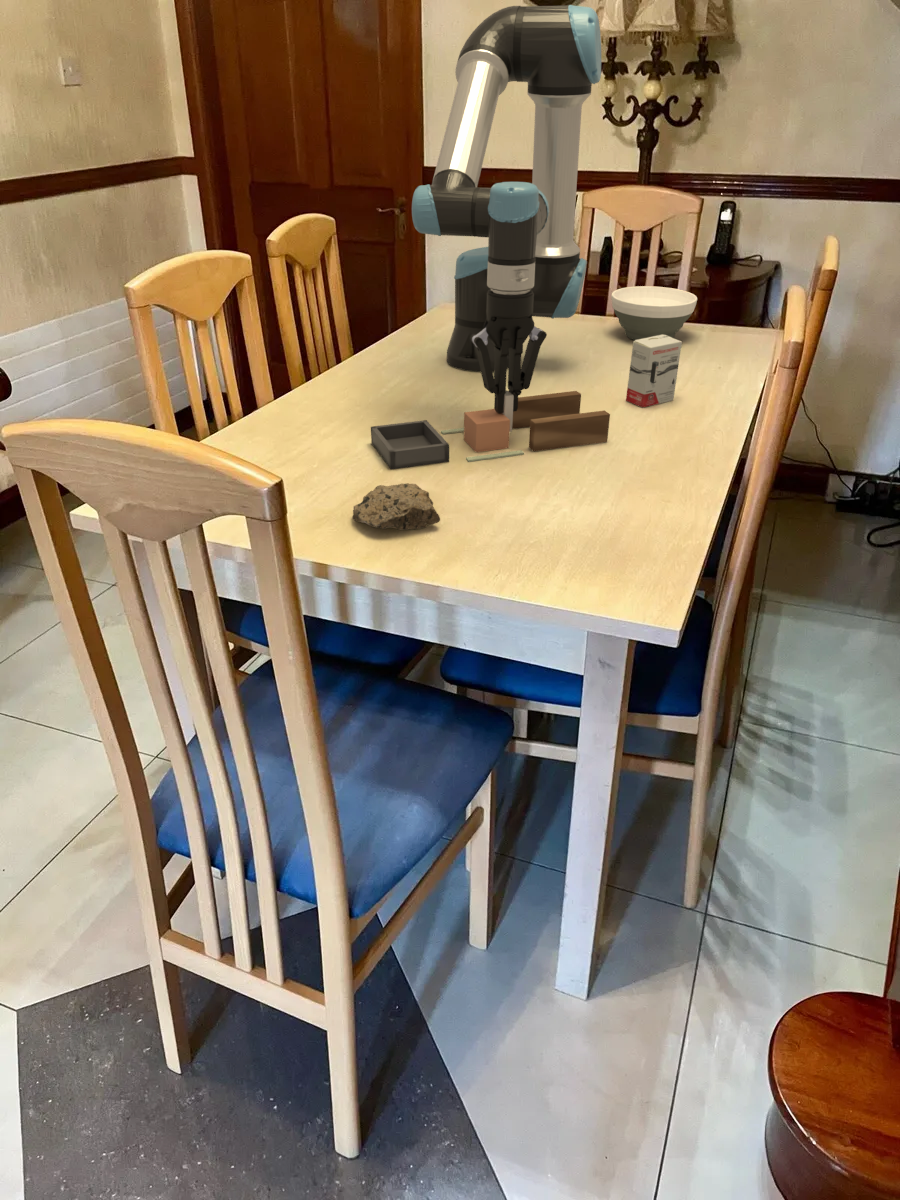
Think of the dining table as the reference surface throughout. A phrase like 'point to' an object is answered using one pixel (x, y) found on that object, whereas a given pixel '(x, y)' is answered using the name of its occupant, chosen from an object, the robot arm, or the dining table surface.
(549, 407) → the channel
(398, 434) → the tray
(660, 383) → the ink box
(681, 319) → the bowl
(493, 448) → the rust block
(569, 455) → the dining table surface
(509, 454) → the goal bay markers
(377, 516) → the rock
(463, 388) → the dining table surface
